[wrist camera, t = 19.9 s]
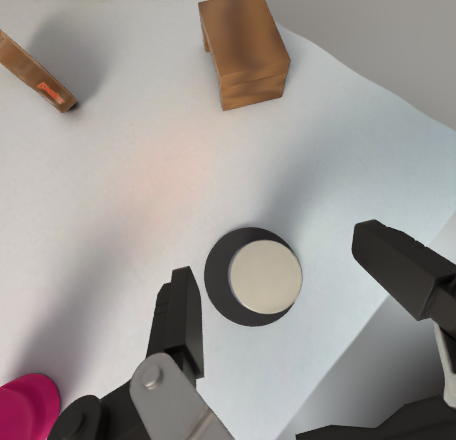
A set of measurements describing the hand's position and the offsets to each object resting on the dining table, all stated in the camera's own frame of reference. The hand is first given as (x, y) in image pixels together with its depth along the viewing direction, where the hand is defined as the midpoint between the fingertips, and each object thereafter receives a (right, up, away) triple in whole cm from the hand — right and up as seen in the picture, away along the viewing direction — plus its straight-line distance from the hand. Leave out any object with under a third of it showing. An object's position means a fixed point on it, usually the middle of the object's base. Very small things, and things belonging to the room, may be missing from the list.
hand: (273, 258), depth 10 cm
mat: (0, -4, +12) cm, 13 cm away
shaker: (0, -4, +12) cm, 12 cm away
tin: (-28, +20, +20) cm, 39 cm away
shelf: (0, +23, +19) cm, 30 cm away
